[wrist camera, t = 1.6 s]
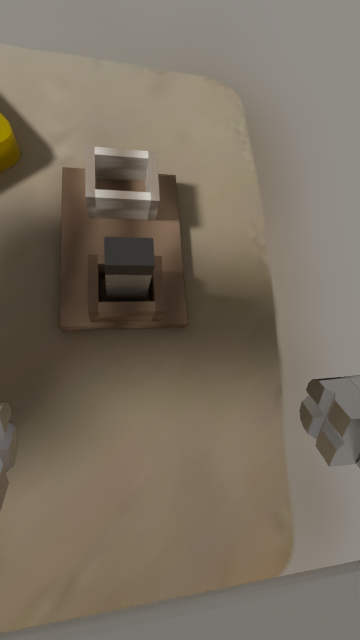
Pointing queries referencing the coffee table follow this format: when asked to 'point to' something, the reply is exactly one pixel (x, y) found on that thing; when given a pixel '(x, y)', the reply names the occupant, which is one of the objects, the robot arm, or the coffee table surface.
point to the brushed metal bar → (128, 268)
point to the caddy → (119, 221)
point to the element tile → (7, 145)
